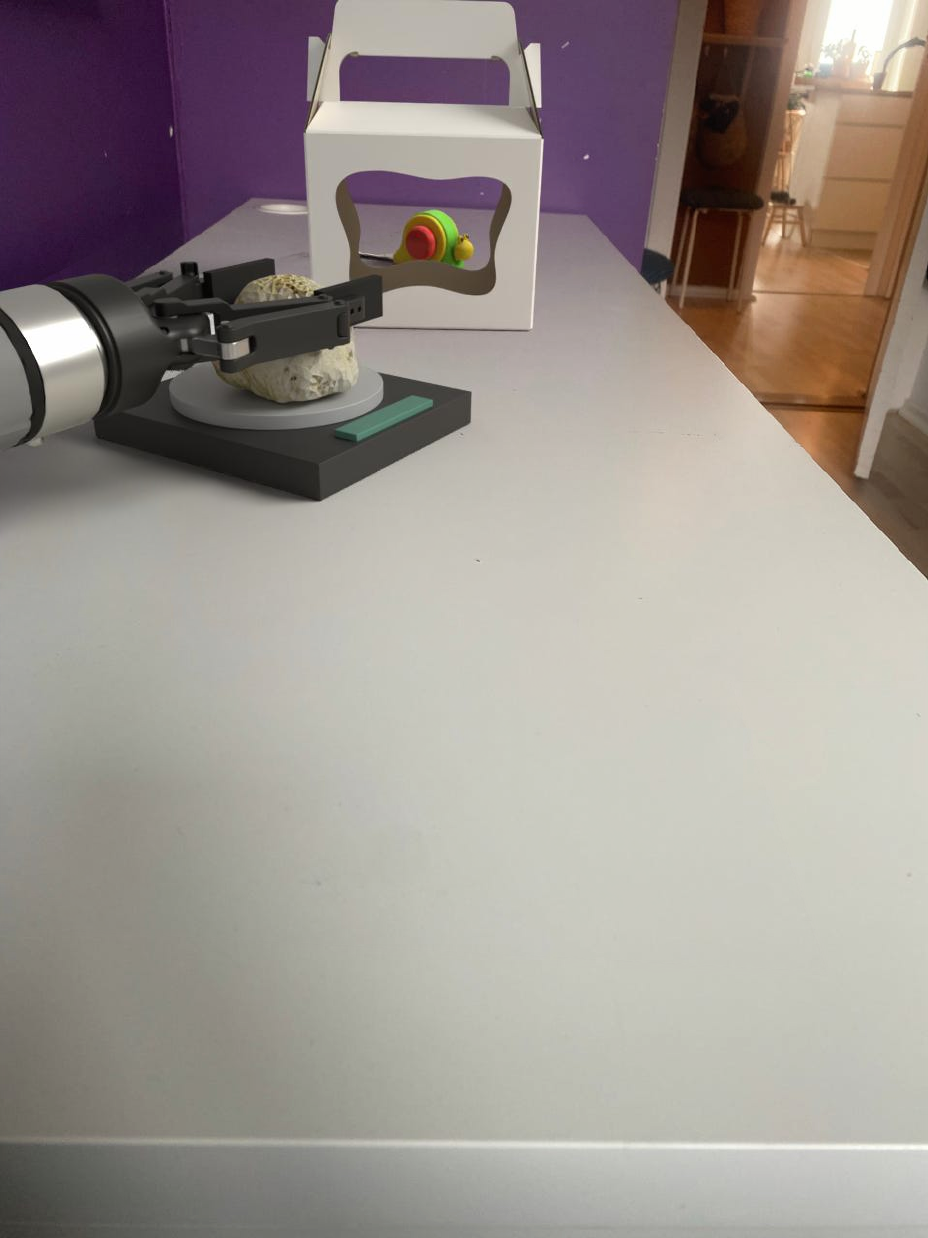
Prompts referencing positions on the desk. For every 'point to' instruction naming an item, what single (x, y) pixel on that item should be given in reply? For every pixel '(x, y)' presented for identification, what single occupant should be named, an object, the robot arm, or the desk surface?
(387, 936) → the desk surface
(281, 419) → the scale
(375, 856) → the desk surface
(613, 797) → the desk surface
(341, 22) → the gable box
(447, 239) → the toy measuring tape
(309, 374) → the decorative item
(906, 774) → the desk surface
